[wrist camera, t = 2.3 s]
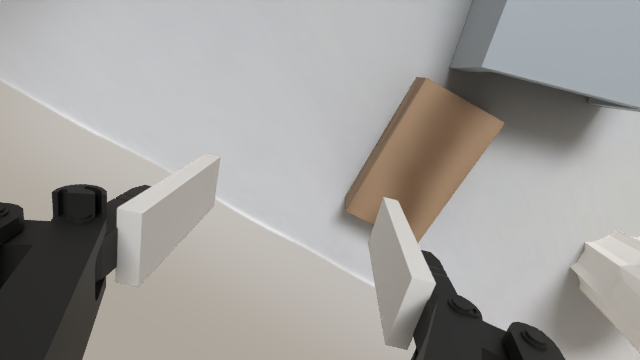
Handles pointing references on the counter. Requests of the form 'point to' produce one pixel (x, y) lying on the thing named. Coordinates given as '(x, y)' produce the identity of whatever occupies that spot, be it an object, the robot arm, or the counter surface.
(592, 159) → the counter surface
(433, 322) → the robot arm
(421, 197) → the board
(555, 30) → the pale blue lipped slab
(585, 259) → the cup
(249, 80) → the counter surface
